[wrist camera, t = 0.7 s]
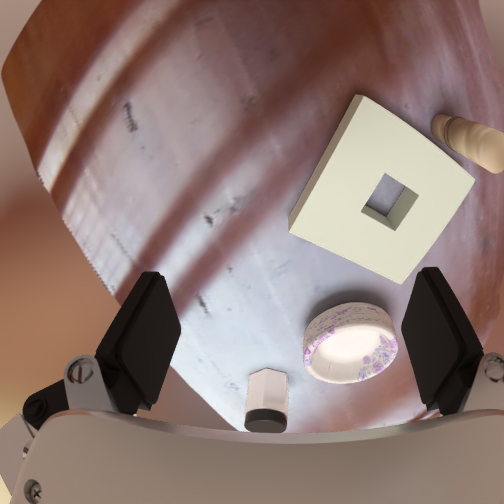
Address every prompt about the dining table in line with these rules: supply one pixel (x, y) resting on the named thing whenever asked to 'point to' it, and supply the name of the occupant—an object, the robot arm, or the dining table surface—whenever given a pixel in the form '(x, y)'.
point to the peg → (471, 140)
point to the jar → (267, 402)
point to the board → (363, 184)
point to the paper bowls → (349, 343)
